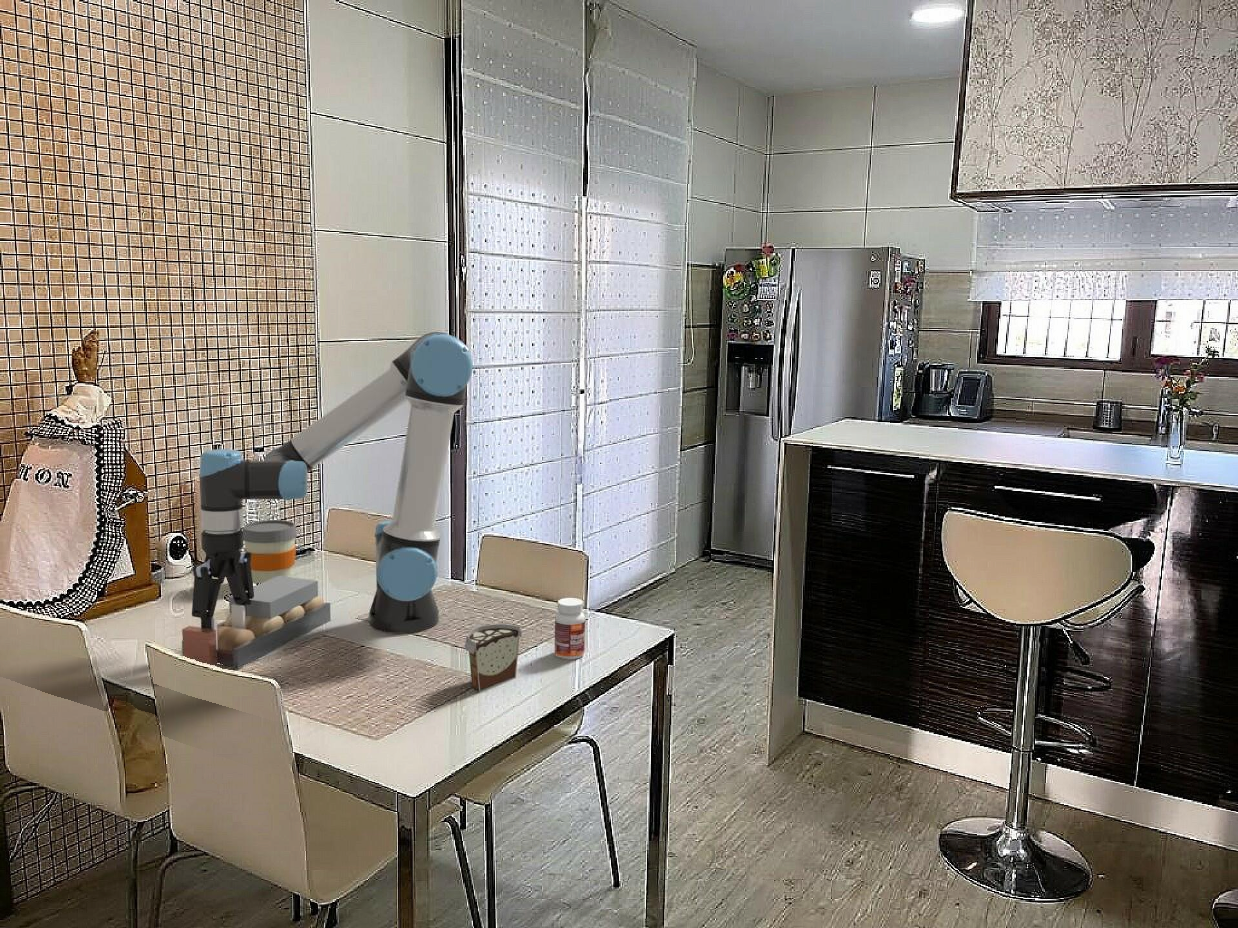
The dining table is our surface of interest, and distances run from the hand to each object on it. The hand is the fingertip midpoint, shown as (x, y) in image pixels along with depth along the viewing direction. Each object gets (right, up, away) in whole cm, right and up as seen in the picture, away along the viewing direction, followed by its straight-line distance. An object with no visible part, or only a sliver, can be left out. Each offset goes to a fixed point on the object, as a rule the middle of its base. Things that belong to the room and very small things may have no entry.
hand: (224, 642), depth 184 cm
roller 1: (0, -3, 0) cm, 3 cm away
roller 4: (+7, +1, +22) cm, 23 cm away
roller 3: (+5, 0, +15) cm, 16 cm away
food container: (+53, -6, -8) cm, 54 cm away
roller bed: (+3, -2, +9) cm, 9 cm away
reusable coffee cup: (-8, +5, +47) cm, 48 cm away
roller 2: (+3, -1, +9) cm, 9 cm away
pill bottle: (+68, -4, +6) cm, 68 cm away
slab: (+5, +5, +14) cm, 16 cm away
